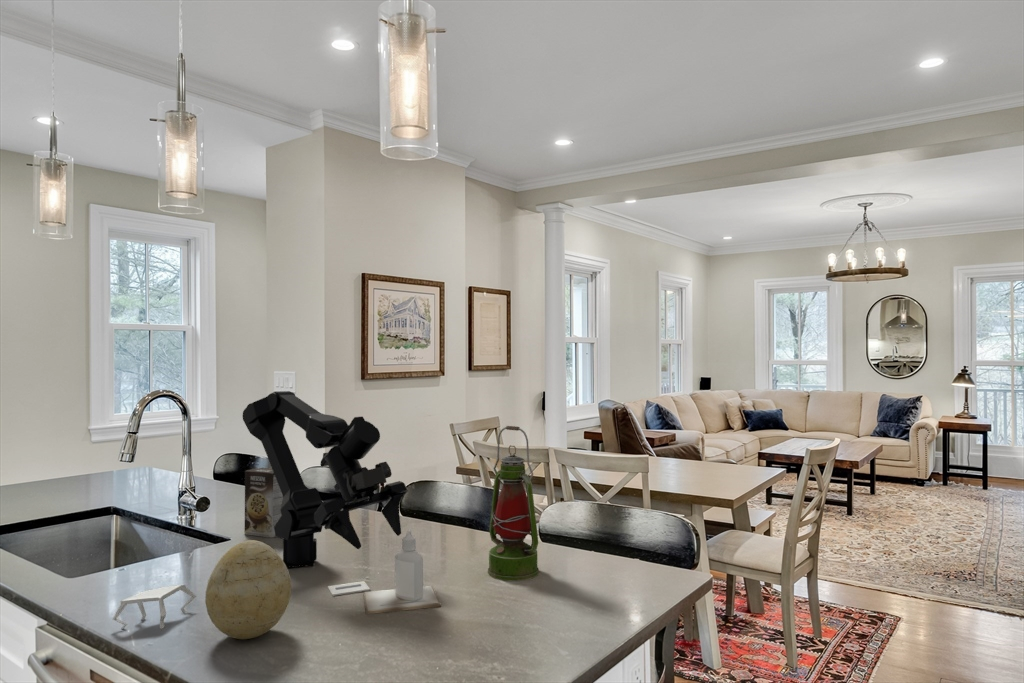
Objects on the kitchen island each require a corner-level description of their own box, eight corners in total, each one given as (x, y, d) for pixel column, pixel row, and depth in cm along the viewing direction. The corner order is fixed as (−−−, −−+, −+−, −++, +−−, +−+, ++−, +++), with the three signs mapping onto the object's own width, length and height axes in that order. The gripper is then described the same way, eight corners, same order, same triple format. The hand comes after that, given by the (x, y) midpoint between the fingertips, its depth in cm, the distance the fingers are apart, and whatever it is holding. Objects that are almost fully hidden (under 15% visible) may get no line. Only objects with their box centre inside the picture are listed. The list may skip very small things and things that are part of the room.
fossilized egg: (264, 655, 100) (264, 554, 100) (187, 649, 102) (187, 550, 102) (305, 622, 112) (305, 532, 113) (235, 618, 114) (236, 529, 115)
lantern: (471, 571, 139) (470, 426, 140) (507, 559, 147) (506, 422, 148) (520, 586, 130) (519, 430, 130) (555, 573, 137) (554, 426, 138)
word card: (332, 596, 125) (332, 594, 125) (327, 587, 129) (327, 586, 129) (370, 590, 128) (369, 588, 128) (364, 582, 132) (364, 580, 132)
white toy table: (146, 638, 107) (147, 607, 107) (110, 630, 110) (110, 600, 110) (207, 612, 118) (207, 583, 118) (172, 605, 121) (172, 578, 121)
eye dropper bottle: (401, 603, 119) (401, 535, 119) (393, 593, 124) (393, 528, 124) (424, 600, 121) (424, 533, 121) (416, 590, 126) (416, 526, 126)
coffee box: (243, 534, 170) (243, 470, 170) (261, 528, 176) (261, 466, 176) (271, 538, 166) (271, 472, 167) (289, 532, 172) (289, 468, 173)
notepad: (366, 614, 116) (366, 610, 116) (363, 594, 125) (363, 591, 125) (440, 606, 119) (440, 602, 119) (432, 588, 129) (432, 584, 129)
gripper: (320, 459, 124) (354, 534, 118) (402, 442, 137) (436, 508, 131) (300, 490, 130) (331, 563, 124) (380, 471, 144) (411, 535, 137)
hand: (380, 541), depth 129 cm, fingers open, 9 cm apart
